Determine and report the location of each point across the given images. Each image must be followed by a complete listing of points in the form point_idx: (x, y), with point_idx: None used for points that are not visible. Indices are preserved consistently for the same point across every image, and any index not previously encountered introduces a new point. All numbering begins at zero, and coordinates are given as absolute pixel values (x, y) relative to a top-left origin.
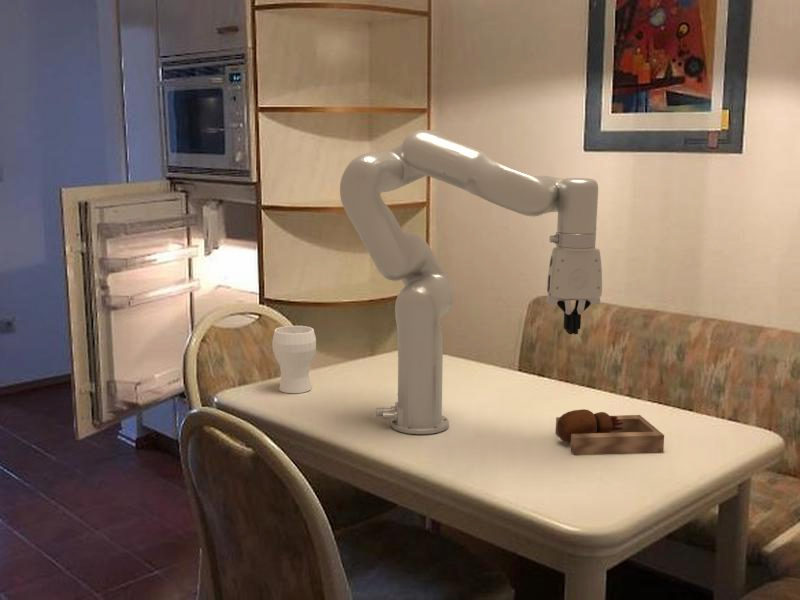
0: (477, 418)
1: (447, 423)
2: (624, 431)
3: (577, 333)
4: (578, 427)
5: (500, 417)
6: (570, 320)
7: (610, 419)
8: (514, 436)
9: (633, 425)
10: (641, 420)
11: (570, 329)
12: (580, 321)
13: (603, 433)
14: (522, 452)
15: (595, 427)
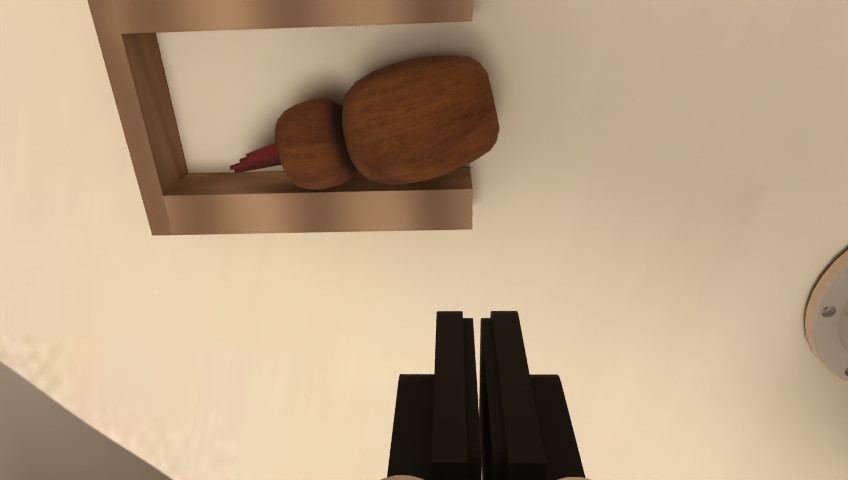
0: (682, 353)
1: (837, 277)
2: (230, 177)
3: (440, 311)
4: (431, 61)
5: (604, 357)
6: (535, 412)
7: (280, 128)
8: (623, 182)
9: (191, 185)
10: (154, 173)
11: (520, 336)
12: (395, 425)
13: (334, 19)
14: (657, 7)
15: (353, 86)
